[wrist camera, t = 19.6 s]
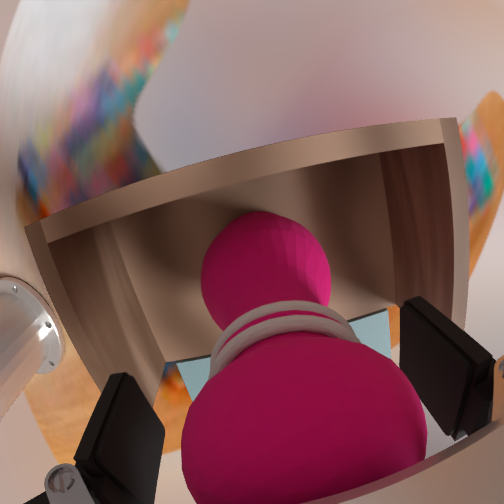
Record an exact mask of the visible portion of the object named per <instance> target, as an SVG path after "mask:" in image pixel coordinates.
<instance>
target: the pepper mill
mask: <svg viewBox="0 0 504 504" xmlns="http://www.w3.org/2000/svg"><path fill="white" fill-rule="evenodd" d="M201 292H202V297H203V300H204V303H205V305H206V307H207V309H208V311H209V313H210V315H211V317H212V319H213V320H214V321H215V323H216V324H217V325H218V326H219V328H220V329H221V330H222V331H223V333H222V334H221V335H220V337H219V338H218V340H217V342H216V344H215V346H214V348H213V351H212V354H211V360H210V373H209V378H208V381H207V382H206V383H205V385H204V386H203V388H202V389H201V391H200V392H199V394H198V395H197V397H196V398H195V400H194V401H193V403H192V404H191V405H190V407H189V410H188V413H187V417H186V420H185V424H184V427H183V431H182V439H181V457H182V471H183V475H184V478H185V481H186V484H187V487H188V489H189V491H190V493H191V495H192V496H193V498H194V500H195V502H196V503H197V504H301V503H306V502H310V501H314V500H318V499H321V498H325V497H328V496H332V495H335V494H339V493H342V492H345V491H348V490H351V489H354V488H357V487H360V486H363V485H366V484H369V483H371V482H374V481H377V480H379V479H382V478H384V477H387V476H389V475H392V474H394V473H397V472H399V471H401V470H404V469H406V468H408V467H410V466H412V465H415V464H417V463H419V462H421V461H423V460H424V458H425V455H426V443H427V426H426V420H425V414H424V411H423V408H422V405H421V402H420V399H419V396H418V394H417V393H416V391H415V389H414V387H413V386H412V384H411V382H410V381H409V380H408V378H407V377H406V375H405V374H404V373H403V372H402V370H401V369H400V368H399V367H398V366H397V365H396V364H395V363H394V362H393V361H392V360H391V359H390V358H388V357H386V356H384V355H382V354H381V353H379V352H377V351H375V350H374V349H372V348H370V347H368V346H367V345H365V344H362V343H361V341H360V340H359V339H358V338H357V337H356V334H355V333H354V331H353V329H352V327H351V326H350V324H349V323H348V322H347V321H346V320H345V319H344V318H343V317H342V316H341V315H340V314H338V313H337V312H336V311H334V310H332V309H330V308H328V303H329V300H330V294H331V275H330V266H329V263H328V260H327V258H326V255H325V252H324V251H323V249H322V247H321V245H320V244H319V242H318V241H317V239H316V238H315V236H314V235H313V234H312V233H311V232H310V231H309V230H308V229H306V228H305V227H304V226H302V225H301V224H299V223H298V222H296V221H294V220H292V219H289V218H286V217H283V216H280V215H277V214H274V213H271V212H263V211H258V212H251V213H247V214H244V215H242V216H240V217H238V218H236V219H235V220H233V221H232V222H230V223H229V224H228V225H227V226H226V227H225V228H224V230H222V231H221V232H220V233H219V234H218V235H217V236H216V237H215V239H214V240H213V241H212V243H211V244H210V246H209V248H208V250H207V252H206V254H205V256H204V260H203V263H202V270H201Z"/></svg>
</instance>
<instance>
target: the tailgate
mask: <svg viewBox="0 0 504 504" xmlns="http://www.w3.org/2000/svg"><path fill="white" fill-rule="evenodd" d="M346 321H347V322H348V323H349V324H350V326H351V327H352V329H353V331H354V333H355V334H356V337H357V338H358V339H359V340H360V341H361V343H362V344H365V345H367V346H368V347H370V348H372V349H374V350H375V351H377V352H379V353H381V354H382V355H384V356H386V357H388V358H390V359H391V345H390V330H389V317H388V310H387V309H386V308H384V309H381V310H378V311H375V312H372V313H369V314H365V315H362V316H359V317H356V318H353V319H349V320H346ZM210 360H211V354H209V355H204V356H199V357H193V358H188V359H182V360H177V363H176V364H177V367H178V369H179V372H180V374H181V376H182V379H183V381H184V383H185V386H186V388H187V390H188V392H189V395H190V397H191V399H192V401H194V400H195V398H196V397H197V395H198V394H199V392H200V391H201V389H202V388H203V386H204V385H205V383H206V382H207V381H208V378H209V373H210Z"/></svg>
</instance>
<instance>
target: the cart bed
mask: <svg viewBox="0 0 504 504" xmlns="http://www.w3.org/2000/svg"><path fill="white" fill-rule="evenodd" d="M258 211H263V212H271V213H274V214H277V215H280V216H283V217H286V218H289V219H292V220H294V221H296V222H298V223H299V224H301V225H302V226H304V227H305V228H306V229H308V230H309V231H310V232H311V233H312V234H313V235H314V236H315V238H316V239H317V241H318V242H319V244H320V245H321V247H322V249H323V251H324V252H325V255H326V258H327V260H328V263H329V266H330V275H331V294H330V300H329V303H328V308H330V309H332V310H334V311H336V312H337V313H338V314H340V315H341V316H342V317H343V318H344V319H345V320H349V319H353V318H356V317H359V316H362V315H365V314H369V313H372V312H375V311H378V310H381V309H384V308H387V307H390V306H393V305H397V306H398V307H399V308H400V307H401V306H403V303H404V301H406V300H408V299H411V298H414V297H416V296H421V297H422V298H424V299H425V300H426V301H428V302H429V303H430V304H431V305H433V306H434V307H435V308H436V309H438V310H439V311H440V312H441V313H443V314H444V315H445V316H446V317H448V318H449V319H450V320H451V321H452V322H454V323H455V324H456V325H457V326H459V327H460V328H461V329H462V330H463V331H464V327H465V318H466V308H467V297H468V282H469V212H468V197H467V185H466V176H465V167H464V160H463V153H462V146H461V140H460V135H459V129H458V124H457V119H456V117H455V118H441V119H428V120H418V121H407V122H398V123H390V124H382V125H374V126H367V127H360V128H354V129H347V130H341V131H335V132H329V133H324V134H318V135H313V136H308V137H303V138H298V139H293V140H288V141H283V142H279V143H274V144H270V145H265V146H261V147H257V148H253V149H249V150H244V151H240V152H236V153H233V154H229V155H225V156H221V157H217V158H214V159H210V160H207V161H203V162H200V163H196V164H192V165H189V166H186V167H182V168H179V169H176V170H172V171H169V172H166V173H163V174H160V175H157V176H153V177H150V178H147V179H144V180H141V181H138V182H136V183H133V184H130V185H127V186H124V187H121V188H118V189H116V190H113V191H110V192H107V193H105V194H102V195H99V196H97V197H94V198H92V199H89V200H86V201H84V202H81V203H79V204H76V205H74V206H72V207H69V208H67V209H64V210H62V211H59V212H57V213H55V214H52V215H50V216H48V217H46V218H43V219H41V220H39V221H37V222H34V223H32V224H30V225H28V226H26V227H24V228H25V231H26V235H27V238H28V241H29V244H30V247H31V249H32V252H33V255H34V258H35V261H36V263H37V266H38V269H39V271H40V274H41V276H42V279H43V281H44V284H45V286H46V288H47V291H48V293H49V295H50V298H51V300H52V302H53V304H54V307H55V309H56V311H57V313H58V315H59V317H60V320H61V322H62V324H63V326H64V328H65V330H66V332H67V334H68V336H69V338H70V339H71V341H72V343H73V345H74V347H75V349H76V351H77V353H78V354H79V356H80V358H81V360H82V361H83V363H84V365H85V367H86V368H87V370H88V372H89V373H90V375H91V377H92V378H93V380H94V382H95V383H96V385H97V387H98V388H99V390H100V391H101V393H102V391H103V389H104V387H105V385H106V383H107V381H108V379H109V376H110V375H111V374H114V373H121V372H127V373H128V374H129V375H132V376H133V377H134V378H135V380H136V381H137V383H138V385H139V387H140V388H141V390H142V392H143V393H144V395H145V397H146V398H147V400H148V402H149V403H150V405H151V407H152V408H153V405H154V401H155V398H156V394H157V391H158V388H159V384H160V381H161V378H162V374H163V371H164V368H165V364H166V362H171V361H176V360H182V359H188V358H193V357H199V356H204V355H209V354H212V351H213V348H214V346H215V344H216V342H217V340H218V338H219V337H220V335H221V334H222V333H223V331H222V330H221V329H220V328H219V326H218V325H217V324H216V323H215V321H214V320H213V319H212V317H211V315H210V313H209V311H208V309H207V307H206V305H205V303H204V300H203V297H202V292H201V270H202V263H203V260H204V256H205V254H206V252H207V250H208V248H209V246H210V244H211V243H212V241H213V240H214V239H215V237H216V236H217V235H218V234H219V233H220V232H221V231H222V230H224V228H225V227H226V226H227V225H228V224H229V223H230V222H232V221H233V220H235V219H236V218H238V217H240V216H242V215H244V214H247V213H251V212H258Z"/></svg>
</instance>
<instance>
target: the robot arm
mask: <svg viewBox="0 0 504 504" xmlns="http://www.w3.org/2000/svg"><path fill="white" fill-rule="evenodd" d="M63 354H64V340H63V335H62V332H61V328H60V326H59V323H58V321H57V319H56V317H55V315H54V314H53V312H52V310H51V308H50V307H49V306H48V304H47V303H46V302H45V300H44V299H43V298H42V297H41V296H40V295H39V294H38V293H37V292H36V291H35V290H34V289H33V288H32V287H30V286H29V285H28V284H26V283H24V282H23V281H21V280H19V279H16V278H13V277H3V278H0V421H1V420H2V418H3V417H4V416H5V414H6V413H7V411H8V410H9V408H10V407H11V406H12V404H13V403H14V401H15V400H16V399H17V397H18V396H19V395H20V393H21V392H22V391H23V389H24V388H25V386H26V385H27V384H28V382H29V381H30V380H31V379H32V377H33V376H34V375H35V373H36V374H46V373H50V372H52V371H54V370H55V369H56V367H57V366H58V365H59V364H60V362H61V360H62V358H63ZM399 367H400V369H401V370H402V372H403V373H404V374H405V375H406V377H407V378H408V380H409V381H410V382H411V384H412V386H413V387H414V389H415V391H416V393H417V394H418V396H419V398H420V400H421V401H422V403H423V404H424V405H425V407H426V408H427V409H428V411H429V412H430V414H431V415H432V416H433V418H434V419H435V421H436V422H437V423H438V425H439V426H440V428H441V429H442V431H443V432H444V433H445V434H446V435H447V436H449V435H451V436H452V438H453V439H454V441H456V440H458V439H459V438H461V437H463V436H464V435H466V434H467V435H468V437H466V438H465V439H463V440H461V441H459V442H458V443H456V444H454V445H452V446H450V447H448V448H447V449H445V450H443V451H441V452H439V453H437V454H435V455H433V456H431V457H429V458H427V459H425V460H423V461H421V462H419V463H417V464H415V465H412V466H410V467H408V468H406V469H404V470H401V471H399V472H397V473H394V474H392V475H389V476H387V477H384V478H382V479H379V480H377V481H374V482H371V483H369V484H366V485H363V486H360V487H357V488H354V489H351V490H348V491H345V492H342V493H339V494H335V495H332V496H328V497H325V498H321V499H318V500H314V501H310V502H306V503H301V504H504V355H503V356H502V357H500V358H499V359H498V360H497V361H496V360H495V359H493V358H492V355H491V354H490V353H489V352H488V351H487V350H486V349H484V348H483V347H482V346H481V345H480V344H479V343H478V342H476V341H475V340H474V339H473V338H472V337H470V336H469V335H468V334H467V333H466V332H465V331H463V330H462V329H461V328H460V327H459V326H457V325H456V324H455V323H454V322H452V321H451V320H450V319H449V318H448V317H446V316H445V315H444V314H443V313H441V312H440V311H439V310H438V309H436V308H435V307H434V306H433V305H431V304H430V303H429V302H428V301H426V300H425V299H424V298H422V297H421V296H416V297H414V298H411V299H408V300H406V301H404V303H403V306H401V307H400V363H399ZM164 438H165V428H164V426H163V424H162V422H161V421H160V419H159V418H158V416H157V415H156V413H155V411H154V410H153V408H152V407H151V405H150V403H149V402H148V400H147V398H146V397H145V395H144V393H143V392H142V390H141V388H140V387H139V385H138V383H137V381H136V380H135V378H134V377H133V376H132V375H129V374H128V373H127V372H121V373H114V374H111V375H110V376H109V379H108V381H107V383H106V385H105V387H104V389H103V391H102V394H101V396H100V398H99V400H98V402H97V404H96V407H95V409H94V411H93V413H92V416H91V418H90V420H89V422H88V425H87V427H86V429H85V432H84V434H83V436H82V439H81V441H80V444H79V446H78V448H77V451H76V453H75V456H74V458H73V459H74V460H75V461H76V464H75V466H73V465H72V464H67V463H65V464H60V465H57V466H55V467H54V468H52V469H51V470H50V471H49V472H48V474H47V476H46V478H45V482H44V486H45V490H46V491H45V492H43V493H41V494H40V495H38V496H36V497H35V498H33V499H31V500H29V501H28V502H26V503H24V504H154V500H155V493H156V486H157V479H158V473H159V467H160V461H161V455H162V449H163V444H164Z"/></svg>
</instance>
